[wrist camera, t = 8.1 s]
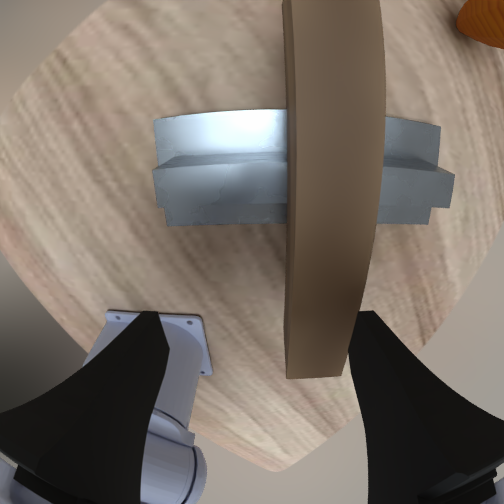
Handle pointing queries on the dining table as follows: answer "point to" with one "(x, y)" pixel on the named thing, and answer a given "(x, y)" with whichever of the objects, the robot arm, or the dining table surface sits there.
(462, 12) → the carrot
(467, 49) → the dining table surface
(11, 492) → the robot arm
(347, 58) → the walnut rod
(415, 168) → the stand
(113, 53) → the dining table surface
